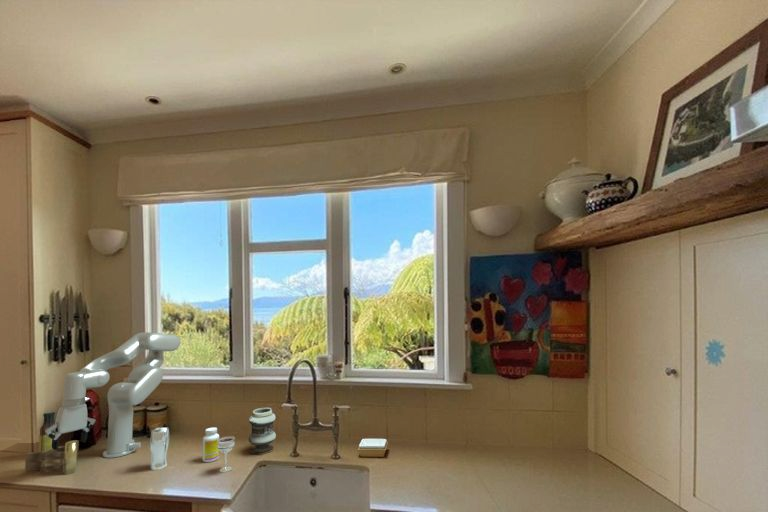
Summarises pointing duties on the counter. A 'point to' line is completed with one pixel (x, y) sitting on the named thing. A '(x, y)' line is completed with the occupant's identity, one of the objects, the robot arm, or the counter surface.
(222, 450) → the wineglass
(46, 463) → the wooden crate
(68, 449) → the brass pin
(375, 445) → the soap dish
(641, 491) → the counter surface
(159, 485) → the counter surface
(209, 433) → the supplement bottle
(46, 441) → the sauce bottle
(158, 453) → the beer glass
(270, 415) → the apothecary jar
